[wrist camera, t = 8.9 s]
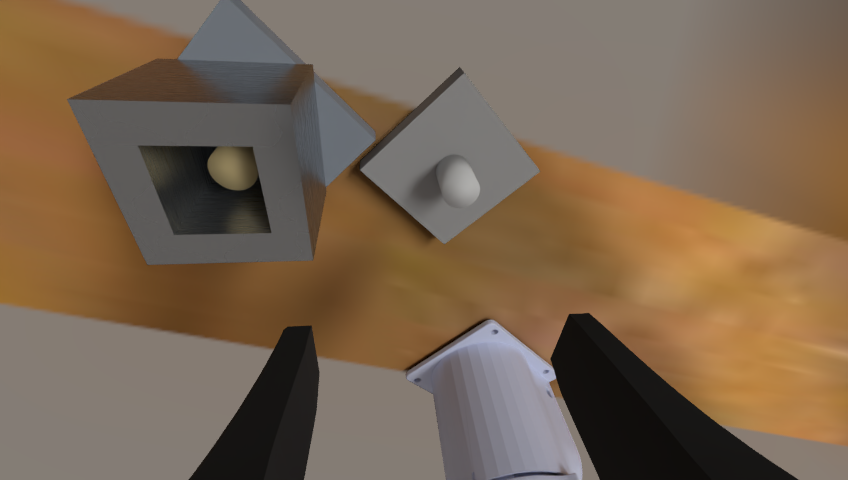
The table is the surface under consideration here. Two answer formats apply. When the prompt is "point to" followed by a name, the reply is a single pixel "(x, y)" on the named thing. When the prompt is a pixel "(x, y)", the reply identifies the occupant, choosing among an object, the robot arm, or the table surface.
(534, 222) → the table surface
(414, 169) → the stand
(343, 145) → the hub plate
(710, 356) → the table surface
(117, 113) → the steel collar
